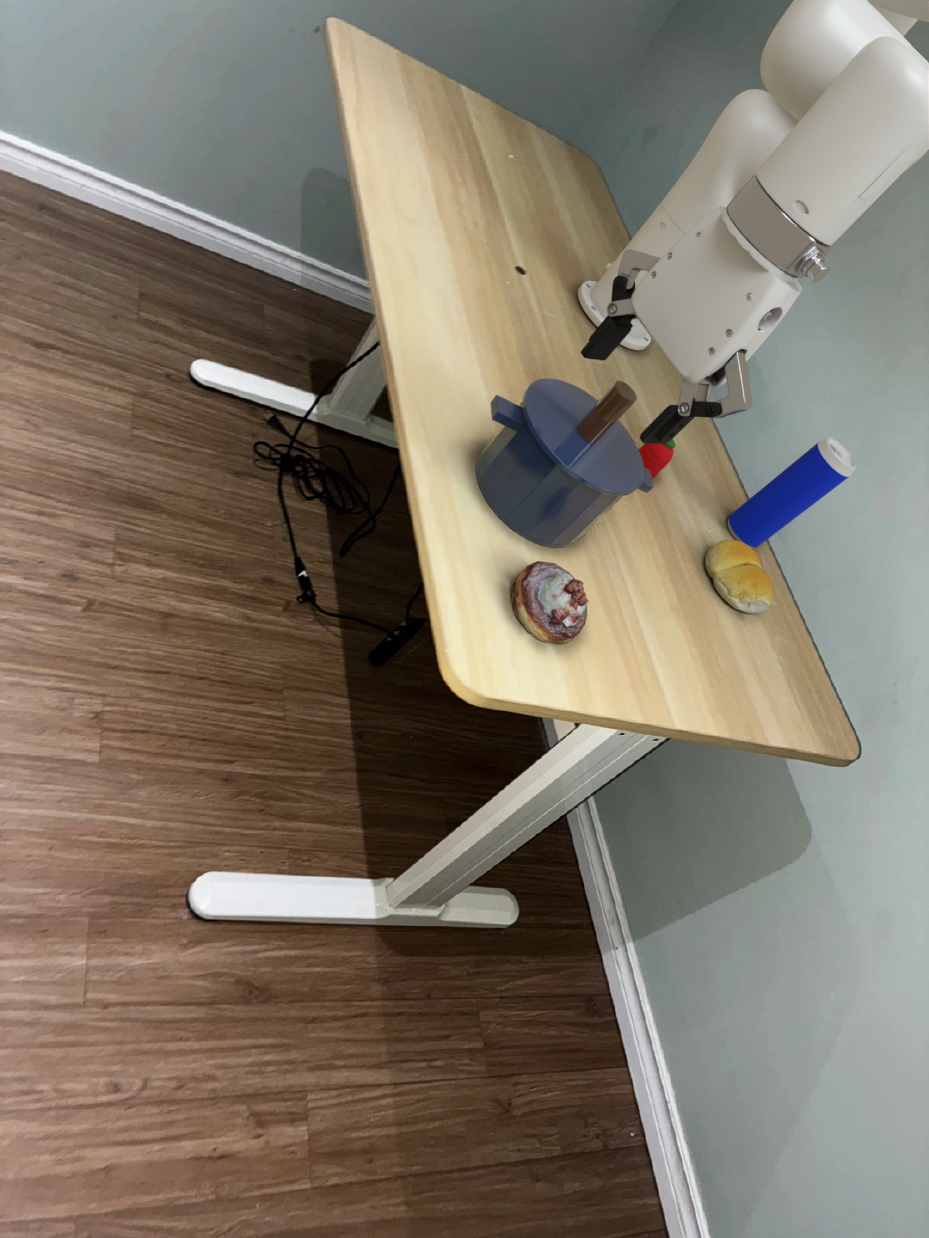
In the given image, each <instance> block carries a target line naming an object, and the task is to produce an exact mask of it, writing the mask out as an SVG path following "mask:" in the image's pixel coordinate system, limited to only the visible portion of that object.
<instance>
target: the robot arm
mask: <svg viewBox="0 0 929 1238" xmlns="http://www.w3.org/2000/svg"><path fill="white" fill-rule="evenodd" d="M918 21H922V22H926V23H929V0H793V1H792V2H791V3H790V5H789V6H788V7H787V9H786V10H785V12H784V13H783V15H782V16H781V17H780V19H779V20H778V21H777V24H775V27H774V28H773V30H772V31H771V33H770V35H769V37H768V39H767V41H766V43H765V45H764V47H763V50H762V53H761V57H760V63H759V74H760V79H761V81H762V84H763V86H764V87H765V89H766V90H764V89H759V88H751V89H746V90H744V91H742V92H740V93H738V94H737V95H736V96H734V97H733V99H732V100H731V101H730V102H729V103H728V104H727V106H725V108H724V109H723V110H722V112H721V113H720V115H719V117H718V118H717V120H716V122H715V123H714V125H713V127H711V130H710V132H709V133H708V135H707V136H706V138H705V140H704V142H703V143H702V145H701V147H700V148H699V149H698V151H697V153H696V154H695V156H694V157H693V158H692V160H691V162H690V163H689V164H688V166H687V167H686V168H685V170H684V171H683V172H682V174H681V176H680V177H679V178H678V179H677V180H676V182H675V184H674V185H673V186H672V187H671V188H670V189H669V191H668V193H667V194H666V195H665V196H664V198H663V199H662V200H661V201H660V203H659V204H658V206H657V207H655V209H654V210H653V211H652V213H651V214H650V215H649V216H648V218H647V219H646V220H645V222H644V223H643V224H642V226H641V227H640V228H639V229H638V230H637V232H636V233H635V234H634V236H633V237H632V238H631V239H630V241H629V242H628V243H627V245H626V246H625V247H624V248H623V250H622V251H621V252H620V253H619V255H618V256H617V257H616V258H615V260H614V261H613V262H609V263H607V264H606V265H605V269H604V270H605V273H603V274H602V276H601V278H600V279H599V280H598V281H596V280H585V281H584V282H583V283H581V285H580V286H579V288H578V290H577V299H578V301H579V304H580V306H581V308H582V309H583V312H584V313H585V315H586V316H587V317H588V318H589V319H590V321H591V322H592V323H593V325H595V326H596V327H597V328H596V329H595V330H594V331H593V332H592V334H591V335H590V336H589V338H588V342H587V343H586V344H585V346H583V348H582V349H581V350H580V354H581V356H582V357H583V359H587V360H596V361H606V360H608V358H609V357H610V356H611V355H612V354H613V352H614V351H615V350H616V349H617V348H618V346H622V347H624V348H626V349H629V350H632V351H643V350H645V349H646V348H647V347H648V346H649V345H650V344H651V343H652V341H653V342H654V344H655V345H656V346H657V348H658V349H659V350H660V352H661V354H663V356H664V357H665V359H666V360H667V361H668V363H669V364H670V366H671V367H672V368H673V369H674V371H675V372H676V373H677V374H678V375H679V377H681V379H682V380H681V386H680V391H679V398H678V403H677V404H669V405H667V407H665V408H664V410H663V411H661V413H659V414H658V415H657V417H655V418H654V420H652V421H651V422H650V423H649V424H648V425H647V427H646V428H645V429H644V430H643V431H642V432H641V433H640V434H639V440H640V441H641V443H642V444H643V445H644V444H660V443H661V444H664V443H667V442H669V441H671V440H672V439H673V440H674V438H675V437H676V436H677V435H678V434H679V433H680V432H681V431H683V430H684V428H686V426H688V425H689V423H690V422H692V421H693V420H694V419H695V418H708V419H709V418H712V419H723V418H726V417H728V416H732V415H735V414H738V413H739V414H740V413H742V412H745V411H748V410H750V409H751V408H752V406H753V398H752V392H751V385H750V379H749V378H750V377H749V372H748V365H747V362H748V361H749V359H750V358H751V357H753V355H754V354H755V353H756V352H757V351H758V349H759V348H760V347H761V346H762V345H763V344H764V343H765V342H766V340H767V339H768V337H769V336H770V335H771V334H772V333H773V332H774V330H776V328H777V327H778V325H779V324H780V323H781V321H782V320H783V319H784V317H785V316H786V314H787V313H788V312H789V310H790V309H791V307H793V305H794V303H795V302H796V300H797V299H798V297H799V296H800V294H801V293H802V291H803V288H802V285H801V284H800V283H799V282H798V280H799V279H804V278H808V279H809V280H810V281H811V282H812V283H813V284H815V283H818V282H820V281H821V280H823V279H824V278H825V277H826V276H827V275H828V274H829V272H830V267H829V266H828V265H827V264H826V259H825V256H826V255H827V254H828V253H829V252H830V251H831V246H832V245H834V243H836V242H837V241H838V240H839V238H841V237H842V235H844V233H845V232H846V231H848V229H850V227H851V226H852V225H854V223H855V222H856V221H857V220H858V219H859V218H860V217H861V216H862V215H863V214H864V213H865V212H866V211H867V210H868V209H869V208H871V206H872V205H873V204H874V203H875V201H877V200H878V199H879V198H880V197H881V196H882V194H884V192H886V191H887V190H888V189H889V188H890V186H892V184H894V182H895V181H897V179H899V178H900V177H901V175H903V174H904V172H906V171H907V170H909V169H910V168H911V167H913V166H914V165H915V164H916V163H917V162H918V161H920V159H921V158H923V157H924V156H925V155H926V154H927V152H928V151H929V61H928V60H927V59H926V58H925V57H924V56H923V55H922V54H921V53H920V52H918V50H917V49H916V48H915V47H914V46H913V45H912V44H911V43H910V41H908V40H907V38H905V35H906V34H907V33H908V32H909V31H910V29H911V28H912V27H913V26H914V25H915V24H916V23H917V22H918ZM725 384H726V385H727V395H726V396H725V397H723V398H721V399H718V400H716V401H715V400H714V401H711V397H712V390H713V387H721V386H723V385H725Z"/></svg>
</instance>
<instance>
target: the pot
mask: <svg viewBox="0 0 929 1238" xmlns="http://www.w3.org/2000/svg"><path fill="white" fill-rule="evenodd" d="M490 415H491V420H492V421H494V422H496V423H498V424H500V425H502V426H501V427H500V428H499V430H498V431H497V432H496V433H495V434H494V436H493V437H492V438H491V439H490V441H489V442H488V443H487V444H486V446H485V447H484V448H483V450H482V452H481V453H480V454H479V456H478V458H477V460H476V465H475V476H476V480H477V484H478V488H479V489H480V492H481V494H482V496H483V497H484V500H485V501H486V503H487V504H488V506H489V507H490V509H491V510H492V511H493V512H494V514H496V516H497V517H498V518H499V519H500V520H501V521H502V522H503V523H504V524H505V525H506V526H507V527H509V528H510V529H511V530H512V531H514V532H515V533H516V534H518V535H519V536H521V537H523V538H524V539H526V540H528V541H530V542H532V543H535V544H537V545H540V546H542V547H547V548H553V549H558V548H559V549H560V548H565V547H569V546H570V545H572V544H574V543H575V542H576V541H577V540H578V539H580V538H582V536H584V535H585V534H586V533H587V531H589V530H590V529H591V528H592V527H593V526H594V525H595V524H596V523H597V522H598V521H599V520H600V519H601V518H603V516H605V514H606V513H607V512H608V511H609V510H611V509H612V508H613V507H614V506H615V505H616V504H617V503H618V502H619V501H620V500H621V499H622V498H623V497H624V496H613V495H607V494H604V493H601V492H598V491H596V490H593V489H591V488H589V487H587V486H585V485H584V484H582V483H581V482H579V481H577V480H576V479H575V478H573V477H572V476H570V475H569V474H568V473H567V472H565V471H564V470H563V469H562V468H561V467H560V466H558V465H557V464H556V463H555V462H554V461H553V460H552V459H551V458H550V456H549V455H548V454H547V453H546V452H545V451H544V449H543V448H542V447H541V446H540V444H539V443H538V441H537V440H536V438H535V437H534V435H533V433H532V432H531V430H530V428H529V426H528V424H527V421H526V418H525V415H524V411H523V400H522V401H521V402H520V404H516V403H514V402H512V401H510V400H509V399H506V398H505V397H502V396H500V395H498V394H496V395H494V397H493V398H492V400H491V401H490ZM653 488H654V482H653V478H651V474H650V470H648V469H646V468H644V478H643V481H642V484H641V485H640V486H639V488H638V489H637V490H640V491H642V492H644V493H646V494H648V493H649V492H650V491H651V490H652V489H653Z"/></svg>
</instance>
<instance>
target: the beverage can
mask: <svg viewBox="0 0 929 1238" xmlns="http://www.w3.org/2000/svg"><path fill="white" fill-rule="evenodd" d="M856 469H857V463H856V461H855V459H854V456H853V455H852V454H851V453H850V451H849V450H848V449H847V447H845V446H844V445H843V444H842V443H841V442H840V441H839V440H837V439H835V438H833V437H827V438H824V439H822V440H820V441H817V443H816V444H814V445H813V446H812V447H811V448H809V449H808V450H807V451H806V452H804V453H803V454H802V455H801V456H800V457H798V458H797V459H796V460H795V461H794V462H793V463H791V464H790V465H789V466H788V467H786V468H785V469H784V470H783V471H781V472H780V473H779V474H778V475H777V476H776V477H774V478H773V479H772V480H770V481H769V482H768V483H767V484H765V486H763V487H762V488H761V489H760V490H758V491H757V492H756V493H755V494H753V495H752V496H751V497H750V498H749V499H747V500H746V501H745V502H744V503H743V504H741V505H740V506H739V507H738V508H737V509H735V510H734V511H733V512H732V513H730V515H729V516H728V519H727V529H728V531H729V533H730V534H731V536H732V537H733V538H734V540H737V541H740V542H743V543H745V544H746V545H748V546H750V547H751V548H752V549H754V548H758V547H760V546H761V545H763V543H765V542H767V540H769V539H770V538H771V537H772V536H774V535H775V534H777V533H778V532H779V531H781V530H782V529H783V528H784V527H786V526H788V524H790V523H791V522H792V521H794V520H795V519H796V518H798V517H799V516H801V514H803V513H804V512H805V511H807V510H808V509H809V508H811V507H812V506H814V505H815V504H816V503H817V502H819V501H820V500H821V499H822V498H824V497H825V496H827V495H828V494H829V493H831V492H832V491H833V490H834V489H835V488H838V486H840V485H841V484H842V483H844V482H845V481H846V480H848V479H849V478H850V477H851V476H852V474H853V473H854V471H855V470H856Z"/></svg>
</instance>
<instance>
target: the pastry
mask: <svg viewBox="0 0 929 1238" xmlns="http://www.w3.org/2000/svg"><path fill="white" fill-rule="evenodd" d="M511 600H512V609H513V612H514V614H515V616H516V618H517V620H518V621H519V622H520V624H521V625H522V626H523V627H524V629H525V631H526V632H527V633H528V634H530V635H531V636H533V637H535V638H537V639H538V640H539V641H540V642H545V643H553V644H560V645H564V644H568V643H570V642H571V641H572V640H573V639H574V638H576V637H577V636H578V635H579V634H580V633H581V631H582V630H583V629H584V627H585V625H586V622H587V618H588V603H589V601H590V600H589V599H588V598H587V594H586V592H585V588H584V582H583V581H582V580H580V579H576V578H575V577H574V576H573V575H572V574H571V573H570V572H569V571H568V570H566V569H565V568H563V567H561V566H560V565H559V564H556V563H555V562H548V561H540V560H538V561H537V560H536V561H535V562H533V563H530V564H528V565H526V566H525V567H524V569H523V570H522V571H521V572H520V573H519V574H518V575H517V576H516V578H515V580H514V582H513V584H512V589H511Z"/></svg>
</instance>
